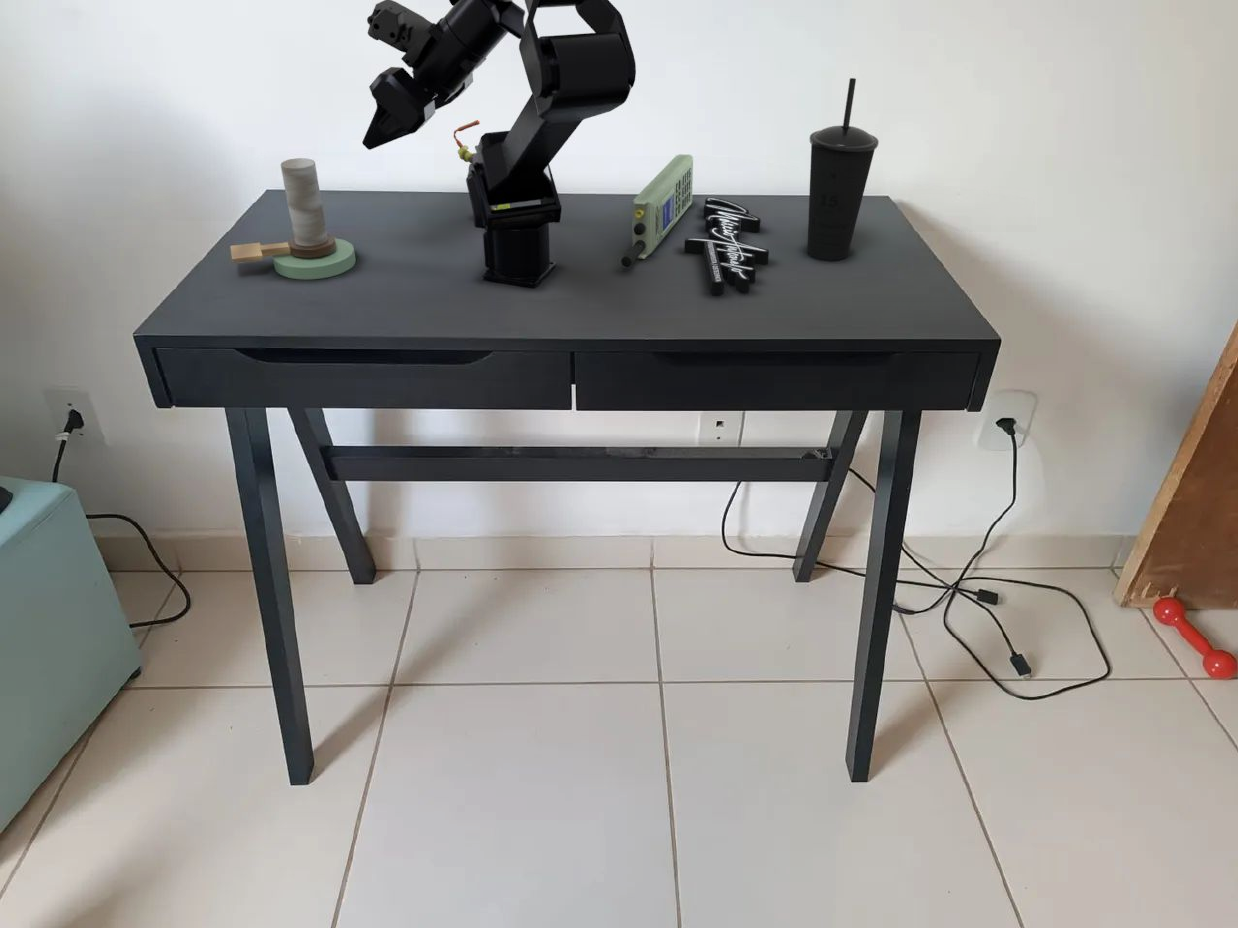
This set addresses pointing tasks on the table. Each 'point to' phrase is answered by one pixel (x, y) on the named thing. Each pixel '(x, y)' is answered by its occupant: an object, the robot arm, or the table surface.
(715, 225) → the nameplate
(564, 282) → the table surface
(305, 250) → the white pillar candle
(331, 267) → the stand
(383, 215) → the table surface
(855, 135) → the drinking cup
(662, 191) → the handheld radio
